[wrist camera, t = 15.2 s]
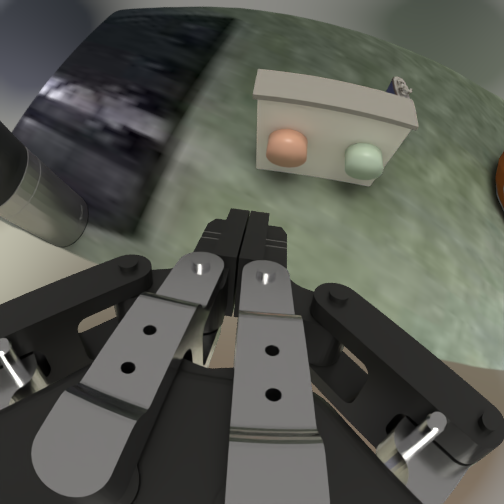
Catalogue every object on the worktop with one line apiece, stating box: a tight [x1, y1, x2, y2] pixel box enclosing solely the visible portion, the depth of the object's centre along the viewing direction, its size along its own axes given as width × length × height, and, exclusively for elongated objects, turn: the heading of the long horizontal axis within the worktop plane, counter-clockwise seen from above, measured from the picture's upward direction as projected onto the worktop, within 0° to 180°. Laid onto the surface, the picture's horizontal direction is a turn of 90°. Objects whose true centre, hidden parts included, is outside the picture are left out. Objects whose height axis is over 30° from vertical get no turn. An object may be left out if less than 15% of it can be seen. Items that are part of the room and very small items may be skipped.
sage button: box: [345, 143, 383, 180], centre depth 37 cm, size 5×8×5 cm, turn 172°
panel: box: [253, 69, 419, 187], centre depth 38 cm, size 19×4×17 cm, turn 82°
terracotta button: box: [266, 129, 308, 168], centre depth 37 cm, size 5×8×5 cm, turn 172°
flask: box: [386, 77, 417, 114], centre depth 44 cm, size 9×3×11 cm, turn 1°
